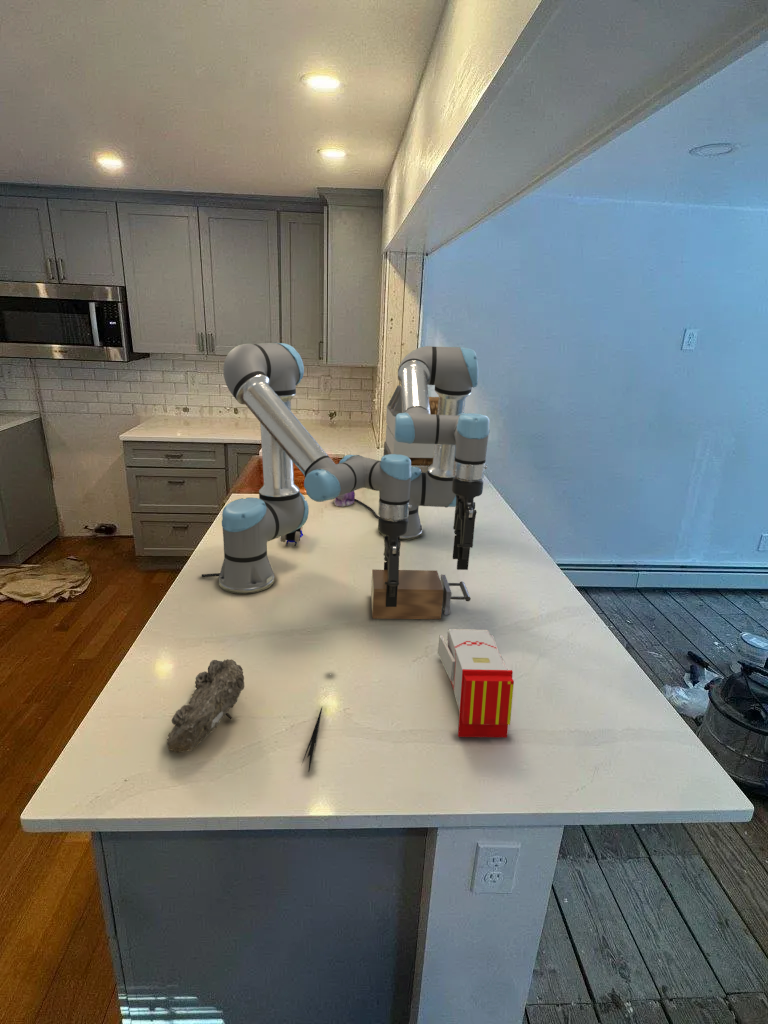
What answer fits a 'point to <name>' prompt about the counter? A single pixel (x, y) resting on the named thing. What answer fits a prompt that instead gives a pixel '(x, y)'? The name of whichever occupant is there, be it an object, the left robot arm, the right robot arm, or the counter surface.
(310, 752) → the feather
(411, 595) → the cabinet
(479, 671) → the toy
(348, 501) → the figurine
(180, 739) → the fossil
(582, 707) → the counter surface
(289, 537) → the figurine character
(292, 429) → the left robot arm
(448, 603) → the drawer
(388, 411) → the transformer
